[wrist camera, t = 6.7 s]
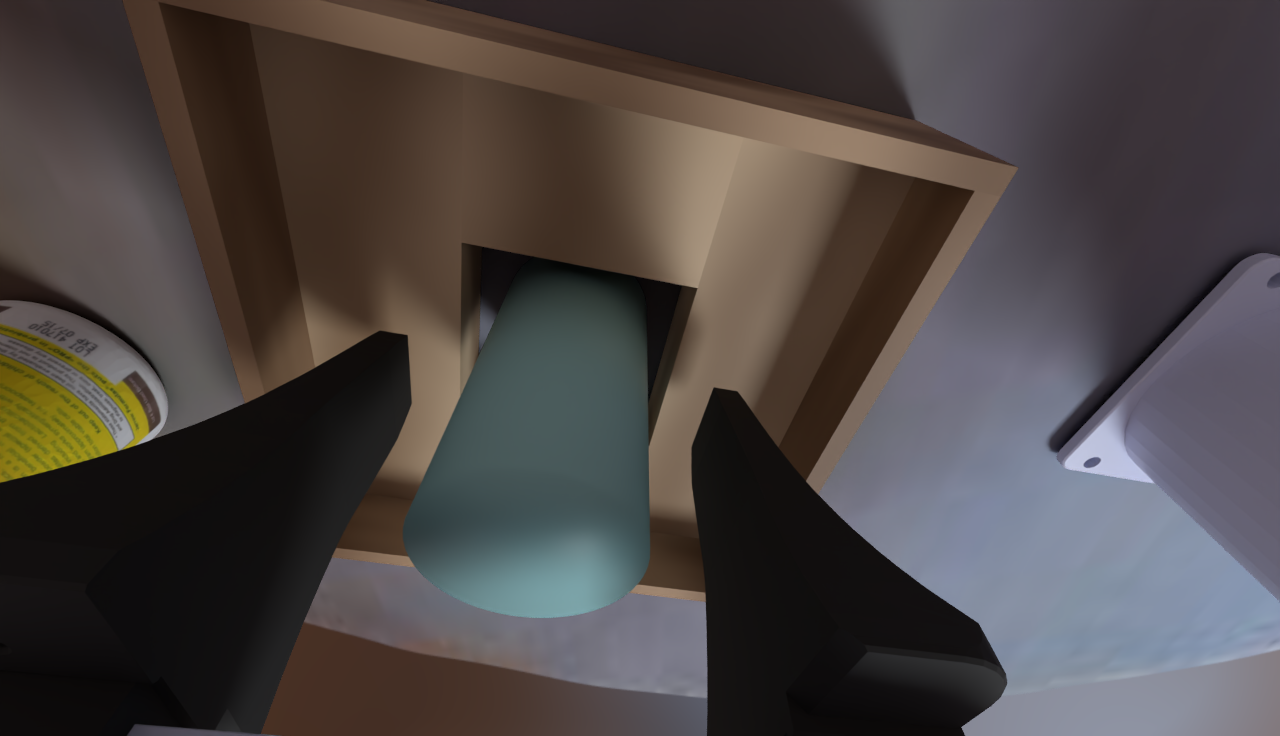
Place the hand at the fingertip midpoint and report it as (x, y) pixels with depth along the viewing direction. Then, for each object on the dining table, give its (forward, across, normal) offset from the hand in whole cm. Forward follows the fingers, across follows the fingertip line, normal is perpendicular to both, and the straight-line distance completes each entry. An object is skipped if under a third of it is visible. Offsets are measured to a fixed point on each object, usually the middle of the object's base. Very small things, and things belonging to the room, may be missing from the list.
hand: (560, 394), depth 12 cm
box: (+3, 0, 0) cm, 3 cm away
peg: (+3, 0, 0) cm, 3 cm away
